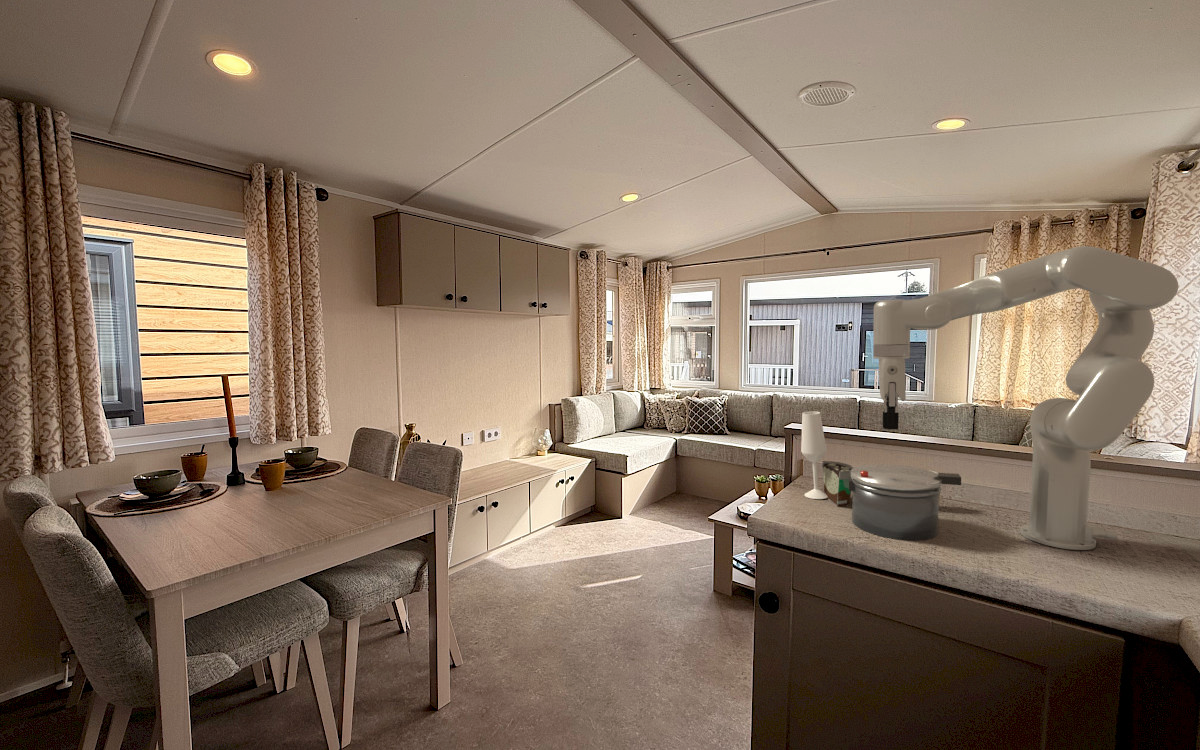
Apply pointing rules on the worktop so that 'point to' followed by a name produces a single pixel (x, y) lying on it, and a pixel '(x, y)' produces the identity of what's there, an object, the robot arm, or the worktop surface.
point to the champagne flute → (813, 447)
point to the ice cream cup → (837, 482)
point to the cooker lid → (902, 477)
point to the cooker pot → (895, 511)
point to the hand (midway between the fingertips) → (890, 428)
